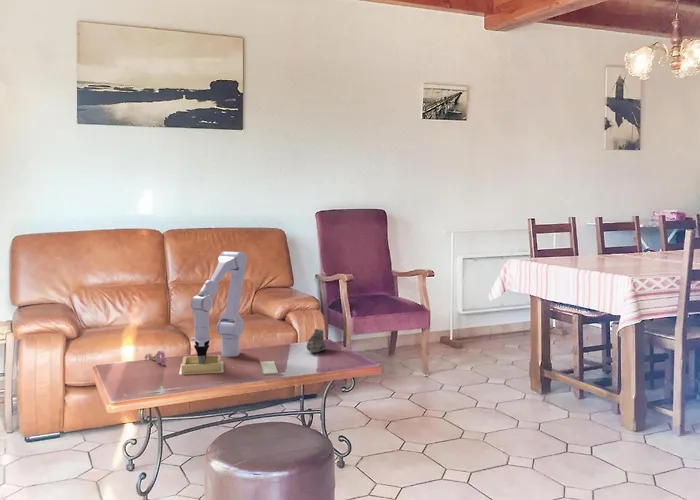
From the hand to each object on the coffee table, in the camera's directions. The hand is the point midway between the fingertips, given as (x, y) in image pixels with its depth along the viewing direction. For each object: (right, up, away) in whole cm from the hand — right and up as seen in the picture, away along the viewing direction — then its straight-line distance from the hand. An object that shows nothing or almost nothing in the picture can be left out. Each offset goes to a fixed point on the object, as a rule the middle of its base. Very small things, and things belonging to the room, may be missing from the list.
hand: (202, 360), depth 254 cm
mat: (+20, -3, -2) cm, 20 cm away
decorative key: (-21, -3, +6) cm, 22 cm away
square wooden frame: (+1, -2, -6) cm, 7 cm away
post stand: (+1, -3, -6) cm, 7 cm away
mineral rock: (+42, -1, +28) cm, 50 cm away
